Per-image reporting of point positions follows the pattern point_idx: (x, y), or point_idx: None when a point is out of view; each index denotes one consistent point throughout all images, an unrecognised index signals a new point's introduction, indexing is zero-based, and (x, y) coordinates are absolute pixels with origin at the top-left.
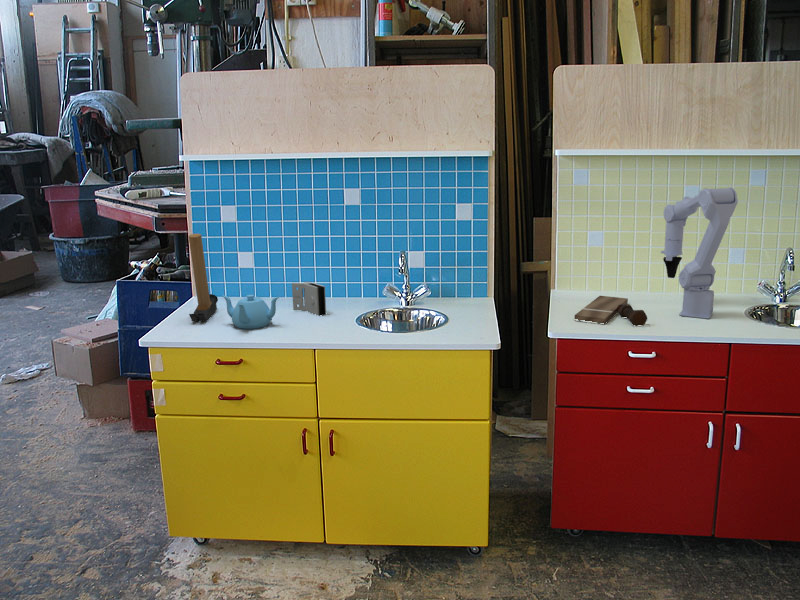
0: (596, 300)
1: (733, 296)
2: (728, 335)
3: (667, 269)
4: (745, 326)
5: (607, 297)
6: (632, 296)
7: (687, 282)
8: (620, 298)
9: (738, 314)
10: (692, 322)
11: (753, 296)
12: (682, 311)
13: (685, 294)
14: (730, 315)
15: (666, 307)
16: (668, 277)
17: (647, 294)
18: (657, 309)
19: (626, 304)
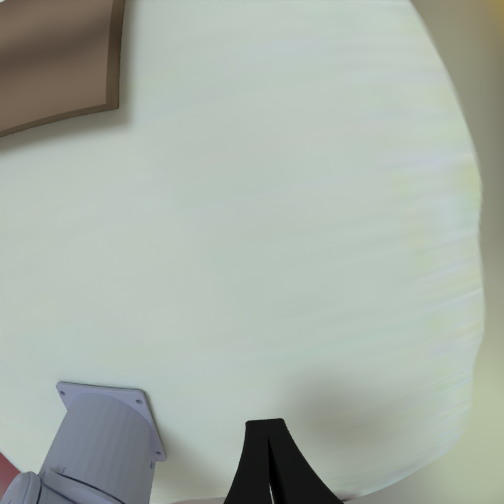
0: (13, 4)
1: (433, 434)
2: (14, 457)
3: (235, 485)
4: None
5: (86, 1)
6: (332, 83)
7: (4, 498)
8: (87, 67)
9: (206, 491)
10: (29, 411)
11: (434, 456)
12: (82, 396)
13: (46, 456)
14: (180, 482)
15: (154, 321)
16: (246, 424)
17: (413, 159)
18: (91, 291)
19: (93, 112)
